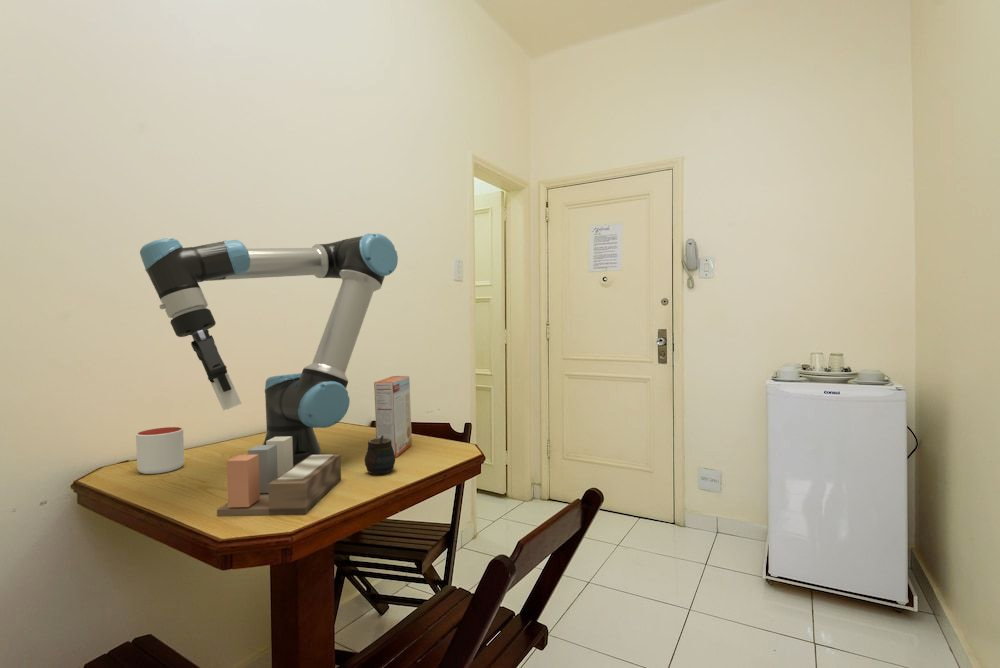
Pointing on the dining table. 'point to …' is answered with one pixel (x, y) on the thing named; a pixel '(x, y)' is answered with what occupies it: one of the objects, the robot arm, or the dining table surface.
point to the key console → (294, 489)
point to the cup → (160, 450)
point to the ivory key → (283, 453)
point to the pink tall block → (243, 480)
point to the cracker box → (394, 412)
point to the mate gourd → (379, 456)
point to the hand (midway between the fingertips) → (232, 407)
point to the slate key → (266, 464)
